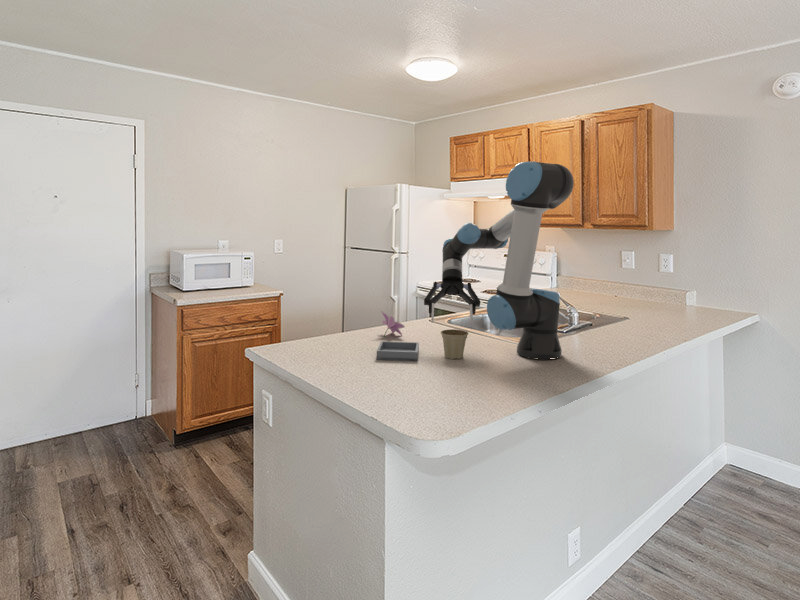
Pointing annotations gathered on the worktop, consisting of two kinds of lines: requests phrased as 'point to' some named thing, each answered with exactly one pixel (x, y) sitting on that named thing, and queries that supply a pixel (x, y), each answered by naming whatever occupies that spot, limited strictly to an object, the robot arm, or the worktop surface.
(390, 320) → the lily
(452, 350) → the flower pot
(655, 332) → the worktop surface
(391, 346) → the tray
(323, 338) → the worktop surface
